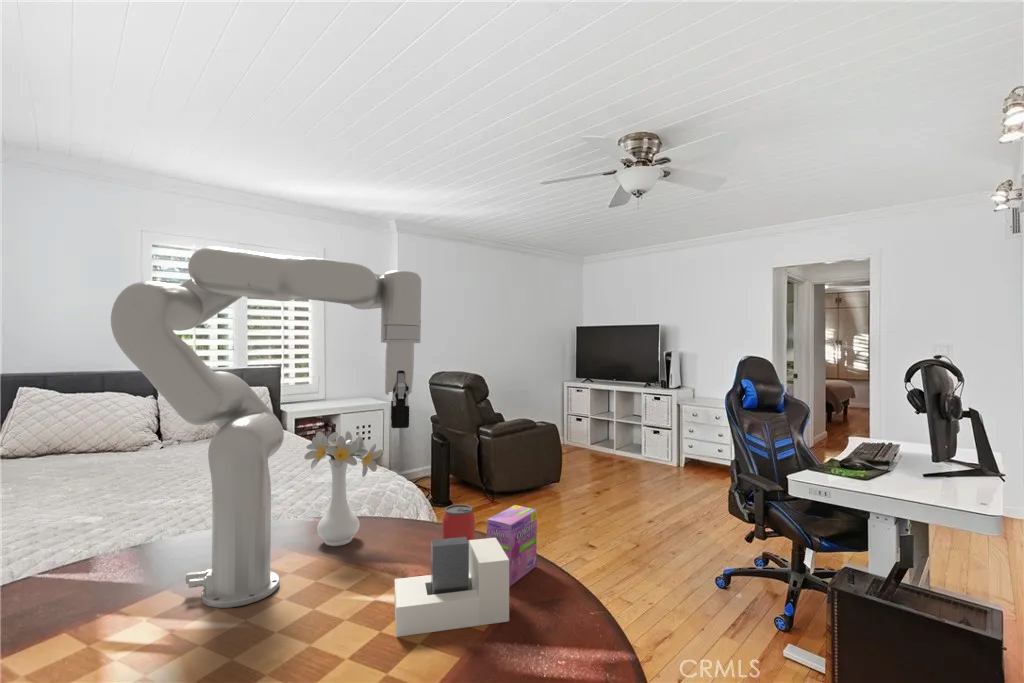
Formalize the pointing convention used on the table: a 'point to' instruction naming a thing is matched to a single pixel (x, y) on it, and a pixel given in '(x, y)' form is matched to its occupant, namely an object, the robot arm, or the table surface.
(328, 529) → the flower vase
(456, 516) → the beer can
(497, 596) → the post block
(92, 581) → the table surface
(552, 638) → the table surface
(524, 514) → the box
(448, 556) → the gray rectangular block
